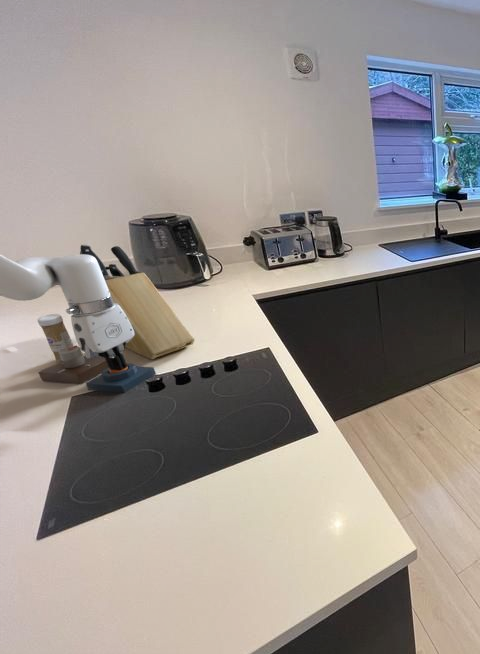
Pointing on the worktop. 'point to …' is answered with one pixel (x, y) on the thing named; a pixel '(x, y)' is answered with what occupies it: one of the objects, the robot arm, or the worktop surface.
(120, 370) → the orange push button
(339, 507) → the worktop surface
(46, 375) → the dial panel
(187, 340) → the knife block
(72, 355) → the dial
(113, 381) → the push button base
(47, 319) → the sprinkles bottle
